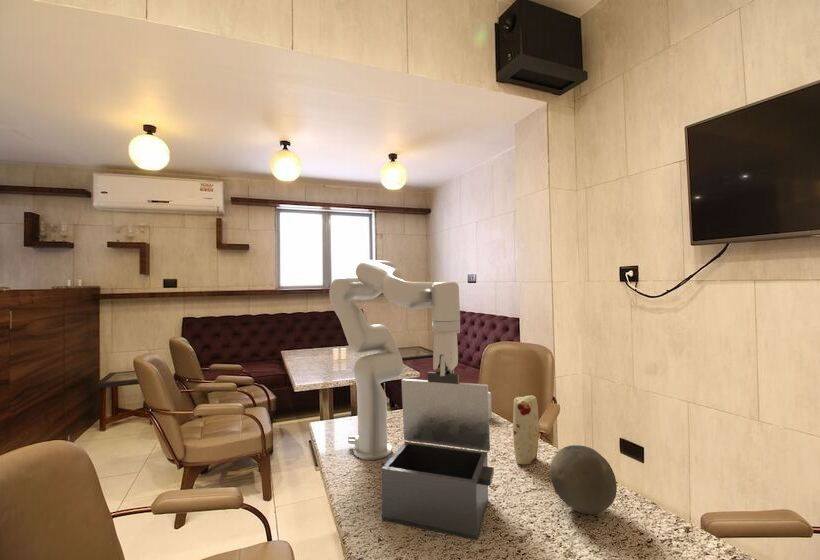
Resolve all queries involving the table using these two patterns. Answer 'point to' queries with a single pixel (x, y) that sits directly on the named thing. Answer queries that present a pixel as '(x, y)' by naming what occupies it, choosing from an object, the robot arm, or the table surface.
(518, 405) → the food model
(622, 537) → the table surface
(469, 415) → the lid
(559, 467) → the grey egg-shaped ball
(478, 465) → the grey lidded box
